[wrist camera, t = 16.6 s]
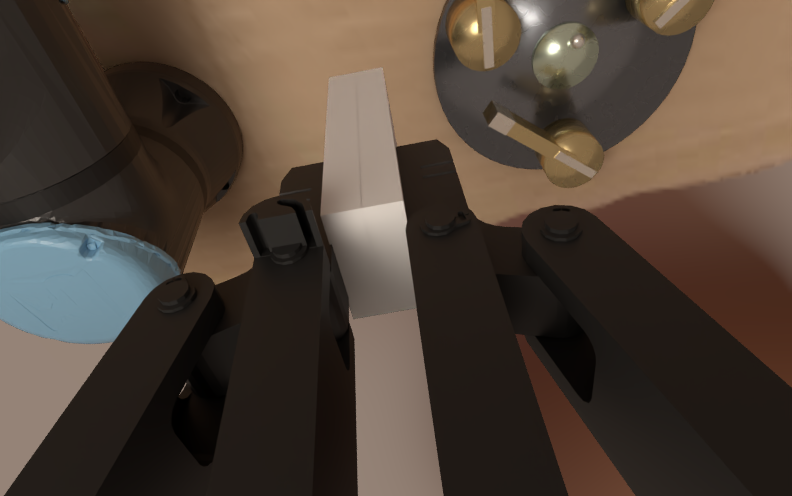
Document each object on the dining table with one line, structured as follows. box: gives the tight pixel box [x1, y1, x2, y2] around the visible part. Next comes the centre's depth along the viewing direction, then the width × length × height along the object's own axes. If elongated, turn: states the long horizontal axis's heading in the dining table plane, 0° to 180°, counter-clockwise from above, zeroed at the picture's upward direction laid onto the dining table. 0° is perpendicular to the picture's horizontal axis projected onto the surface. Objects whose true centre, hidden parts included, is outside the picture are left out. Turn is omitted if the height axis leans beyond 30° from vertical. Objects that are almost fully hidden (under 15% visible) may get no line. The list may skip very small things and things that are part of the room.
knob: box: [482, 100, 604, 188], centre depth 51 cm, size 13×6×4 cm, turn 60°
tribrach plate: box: [433, 0, 696, 169], centre depth 48 cm, size 24×24×2 cm
